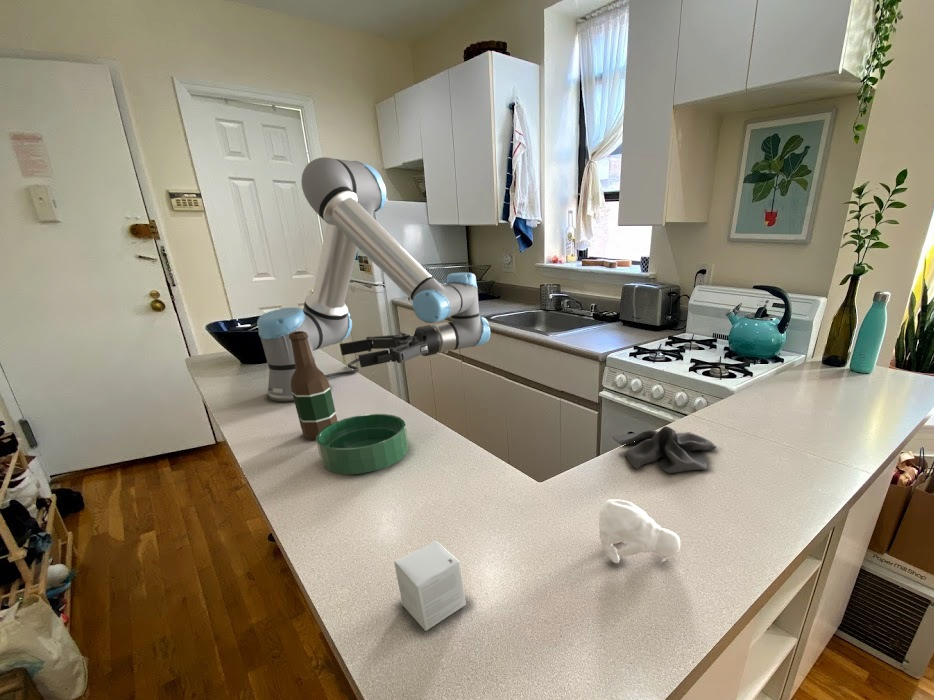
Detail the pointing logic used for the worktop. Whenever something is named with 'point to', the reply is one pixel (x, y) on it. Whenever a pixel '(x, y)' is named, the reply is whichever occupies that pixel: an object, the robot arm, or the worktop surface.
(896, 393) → the worktop surface
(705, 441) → the cloth
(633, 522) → the white irregular figure
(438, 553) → the product box
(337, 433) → the green bowl
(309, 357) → the beer bottle
